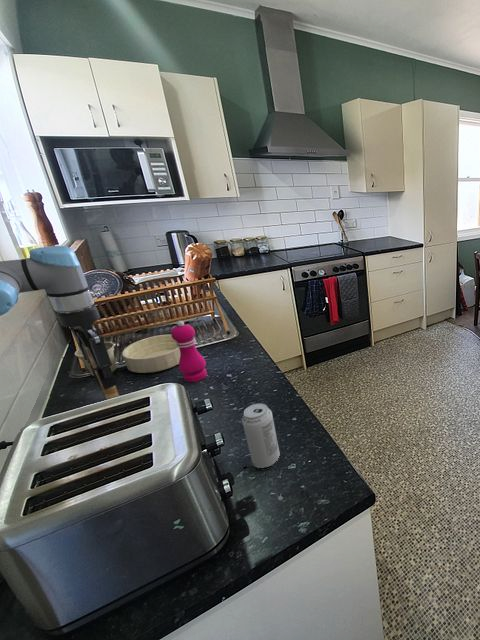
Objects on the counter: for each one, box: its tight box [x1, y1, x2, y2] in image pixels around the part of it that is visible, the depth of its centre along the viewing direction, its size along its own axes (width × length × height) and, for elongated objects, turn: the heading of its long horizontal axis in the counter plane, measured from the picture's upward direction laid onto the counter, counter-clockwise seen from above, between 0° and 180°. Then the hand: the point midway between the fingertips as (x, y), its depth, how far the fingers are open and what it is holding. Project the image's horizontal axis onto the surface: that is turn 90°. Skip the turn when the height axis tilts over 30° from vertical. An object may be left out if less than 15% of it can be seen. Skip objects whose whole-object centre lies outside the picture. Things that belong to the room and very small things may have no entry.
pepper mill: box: [170, 320, 208, 383], centre depth 108 cm, size 7×7×20 cm
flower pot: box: [74, 341, 117, 377], centre depth 112 cm, size 9×9×9 cm
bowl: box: [121, 333, 180, 374], centre depth 119 cm, size 17×17×6 cm
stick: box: [84, 342, 120, 400], centre depth 96 cm, size 3×3×20 cm
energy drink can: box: [241, 402, 281, 469], centre depth 79 cm, size 6×6×15 cm
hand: (107, 384), depth 98 cm, fingers closed on stick, 3 cm apart
